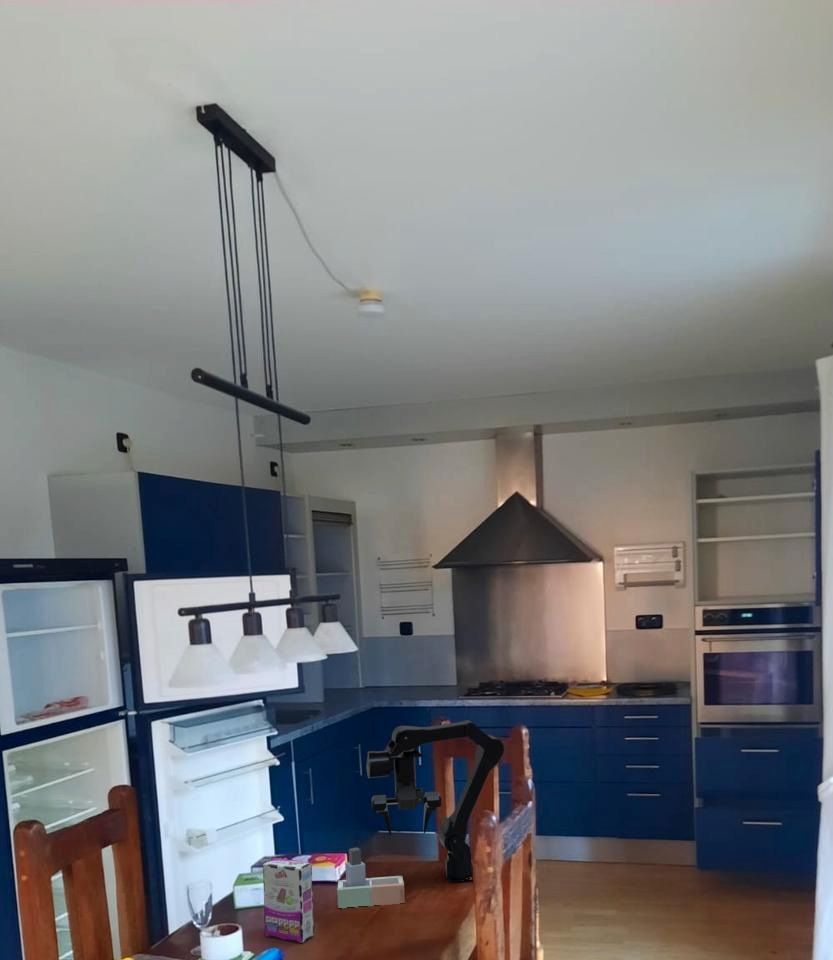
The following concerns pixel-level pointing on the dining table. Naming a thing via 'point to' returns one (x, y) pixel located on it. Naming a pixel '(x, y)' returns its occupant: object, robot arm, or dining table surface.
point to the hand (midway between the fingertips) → (407, 834)
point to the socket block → (372, 892)
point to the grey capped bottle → (355, 869)
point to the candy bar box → (288, 900)
